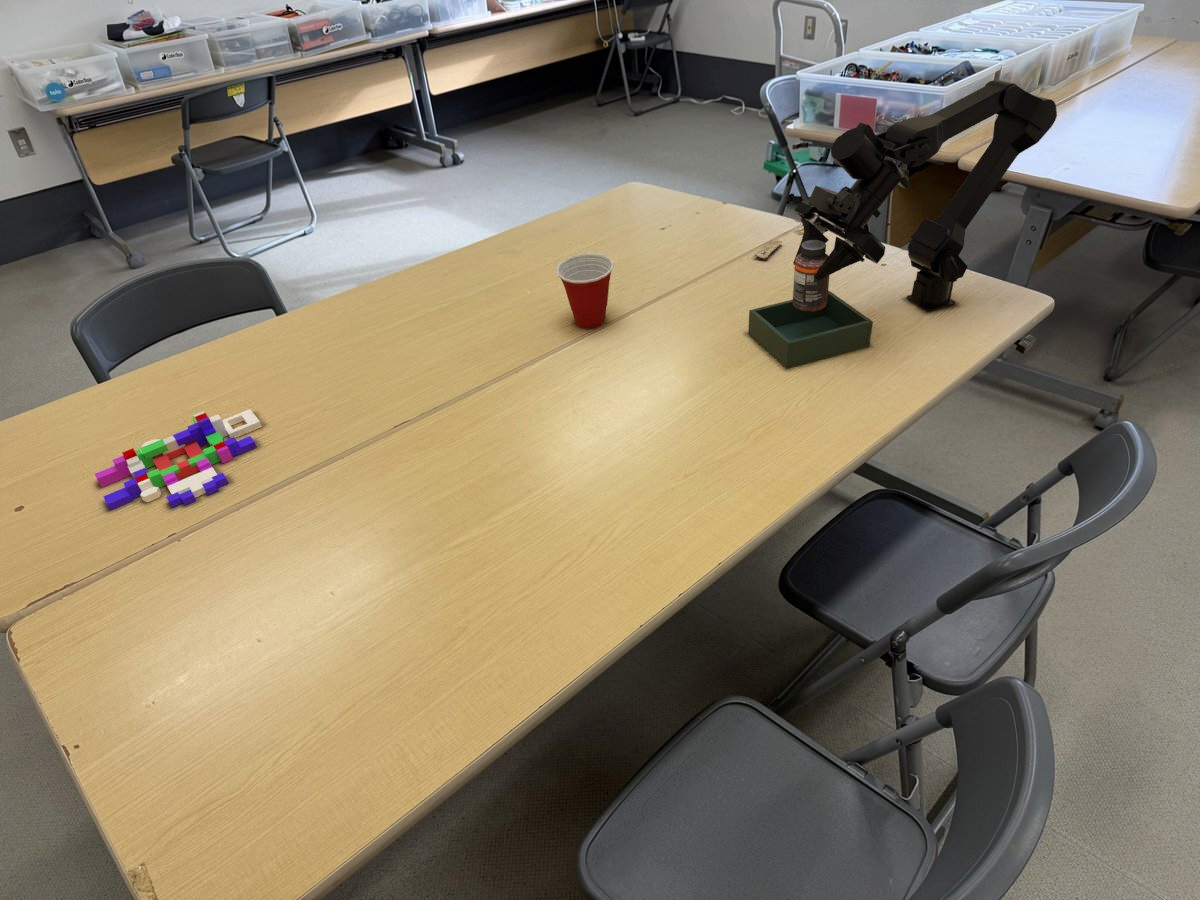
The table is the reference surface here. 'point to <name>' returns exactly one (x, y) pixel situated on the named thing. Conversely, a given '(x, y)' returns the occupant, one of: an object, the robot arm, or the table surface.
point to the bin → (809, 331)
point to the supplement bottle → (810, 277)
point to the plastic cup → (587, 287)
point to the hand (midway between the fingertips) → (805, 272)
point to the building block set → (170, 474)
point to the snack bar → (768, 249)
